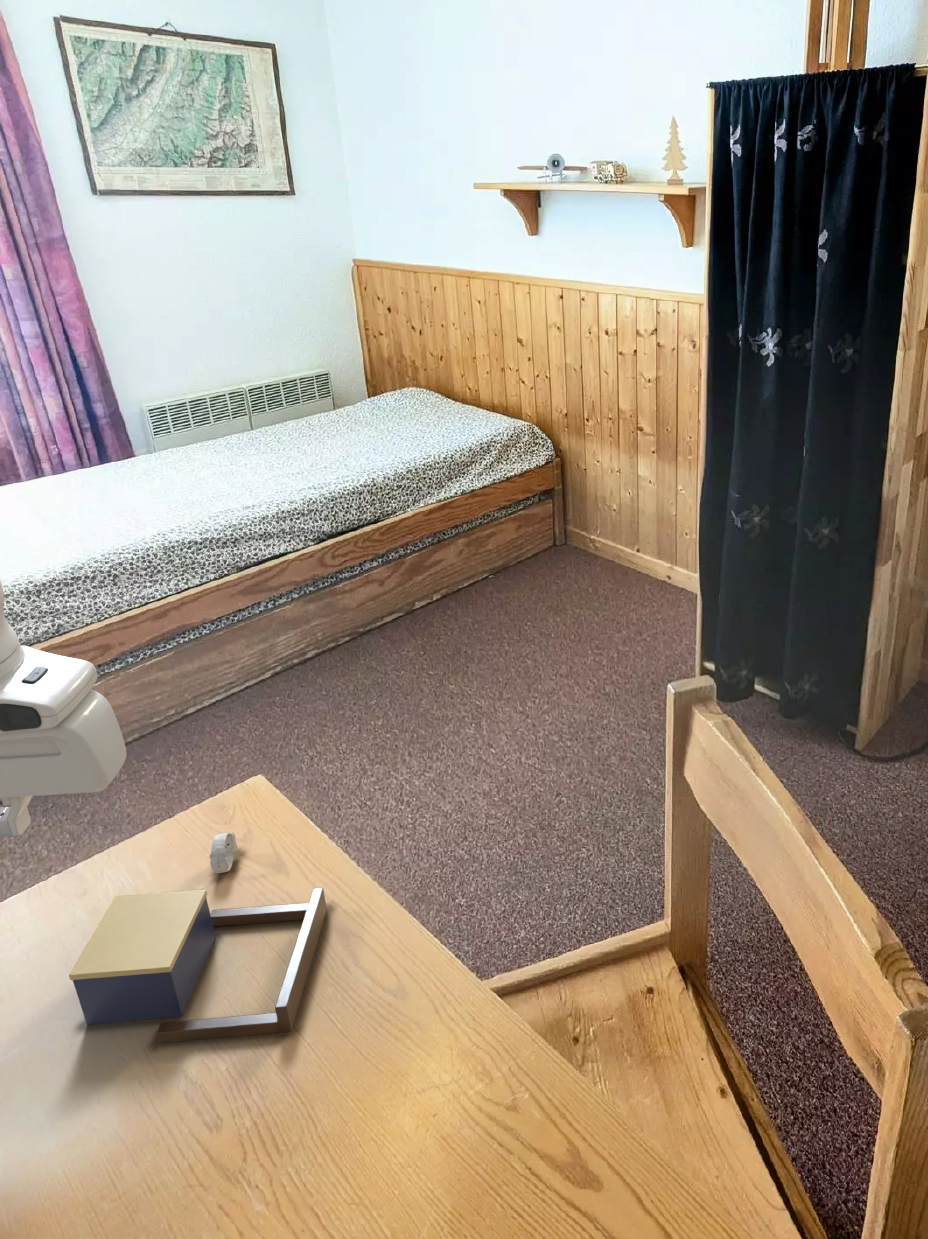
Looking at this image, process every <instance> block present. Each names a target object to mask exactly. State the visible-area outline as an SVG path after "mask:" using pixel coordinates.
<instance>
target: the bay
mask: <svg viewBox="0 0 928 1239" xmlns="http://www.w3.org/2000/svg"><path fill="white" fill-rule="evenodd" d="M327 911H328V908H327V902H326V895H325V889H324V887H315V888H314V887H313V889H312V891H311V895H310V898H309V899H308V902H299V903H285V904H274V905H273V904H271V905H262V906H261V905H259V906H258V905H257V906H244V907H233V908H217V909H211V911H210V916H211V920H212V924H213V927H223V926H224V927H225V926H235V925H236V926H237V925H249V924H250V925H251V924H262V923H263V924H264V923H275V922H276V923H277V922H289V921H301V920H302V922H301V925H300V929H299V932H298V935H297V938H296V941H295V944H294V946H293V950H292V953H291V957H290V960H289V962H288V966H287V969H286V972H285V974H284V978H283V982H282V984H281V987H280V990H279V994H278V997H277V1000H276V1003H275V1005H274V1011H275V1012H267V1013H255V1014H244V1015H234V1016H233V1015H232V1016H223V1017H222V1016H221V1017H211V1018H210V1017H209V1018H199V1019H187V1020H176V1021H175V1020H174V1021H163V1022H160V1025H159V1027H158V1029H157V1031H156V1035H157V1036H156V1037H157V1040H158V1043H159V1044H161V1043H171V1042H182V1041H183V1042H184V1041H193V1040H194V1041H195V1040H207V1039H216V1038H217V1039H219V1038H228V1037H239V1036H251V1035H263V1034H274V1033H284V1032H285V1033H287V1032H292V1029H293V1026H294V1023H295V1019H296V1016H297V1013H298V1010H299V1006H300V1003H301V999H302V996H303V992H304V989H305V987H306V982H307V979H308V976H309V972H310V969H311V965H312V962H313V958H314V955H315V953H316V948H317V945H318V942H319V938H320V935H321V932H322V928H323V924H324V921H325V918H326V915H327Z"/></svg>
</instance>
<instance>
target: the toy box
mask: <svg viewBox="0 0 928 1239" xmlns="http://www.w3.org/2000/svg"><path fill="white" fill-rule="evenodd" d="M207 896H208V892H207V889H205V888H204V889H194V890H193V889H192V890H180V891H165V892H153V893H138V894H137V893H136V894H125V895H115V897H114V898H113V899H112V901H111V903H110V905H109V907H108V908H107V910H106V912H105V913H104V915H103V916H102V918H101V920H100V922H99V923H98V925H97V927H96V929H95V930H94V932H93V934H92V935H91V937H90V939H89V941H88V942H87V944H86V945H85V947H84V949H83V951H82V952H81V954H80V955H79V957H78V959H77V960H76V962H75V964H74V966H73V967H72V969H71V971H70V973H69V974H68V977H69V980H70V981H72V982H73V986H74V989H75V992H76V994H77V995H76V996H77V998H78V1001H79V1005H80V1007H81V1011H82V1014H83V1017H84V1020H85V1023H86V1025H96V1024H107V1023H108V1024H109V1023H119V1022H121V1023H122V1022H131V1021H144V1020H154V1019H155V1020H156V1019H166V1018H167V1019H168V1018H178V1017H182V1016H183V1015H184V1013H185V1010H186V1008H187V1006H188V1003H189V1001H190V998H191V996H192V994H193V991H194V989H195V987H196V985H197V983H198V980H199V978H200V975H201V973H202V971H203V968H204V966H205V964H206V961H207V959H208V958H209V954H210V952H211V950H212V947H213V945H214V943H215V940H216V938H217V937H216V933H215V929H214V926H213V924H212V920H211V916H210V914H211V911H210V907H209V903H208V898H207Z"/></svg>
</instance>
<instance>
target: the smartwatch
mask: <svg viewBox="0 0 928 1239" xmlns="http://www.w3.org/2000/svg"><path fill="white" fill-rule="evenodd" d="M236 850H238V843H237V838H236V834H235V832H232V831H230V832H223V833H217V834H215V835H214V837H213V840H212V844H211V850H210V854H209V859H210V862H209V864H210V868H211V870H212V871H213V872H214V873H215V874H223V873H227V872H230V871H231V869H232V867H233V864H234V863H233V862H234V857H235V852H236Z"/></svg>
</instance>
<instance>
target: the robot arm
mask: <svg viewBox="0 0 928 1239" xmlns="http://www.w3.org/2000/svg"><path fill="white" fill-rule="evenodd" d="M4 602H5V592H4V587H3V583H2V581H1V579H0V799H1V800H0V801H1V802H2V803H1V804H2V805H3V806H0V838H1V837H14V836H15V837H16V836H22V835H23V834H24V833H25V832H26V831H27V829H28V828H29V827H30V826H31V821H32V818H31V815H30V812H29V809H28V806H29V805H30V802H31V800H32V799H33V797H38V796H53V795H54V796H55V795H67V794H83V793H97V792H102V791H104V790H105V789H106V788H107V787H108V786H109V785H110V784H111V783H112V781H113V780H114V779H115V778H116V776H117V775H118V774H119V773H120V770H121V769H122V768H123V766H124V764H125V762H126V760H127V755H128V754H127V746H126V743H125V740H124V736H123V733H122V729H121V727H120V724H119V722H118V718H117V716H116V714H115V711H114V709H113V707H112V705H111V703H110V702H109V700H108V698H106V697H105V696H104V695H103V694H102V693H100V692H98V691H96V690H94V689H92V688H93V686H94V685H95V683H96V682H97V680H98V672H97V669H96V666H95V665H94V663H92V662H91V661H88V660H85V659H81V658H75V657H69V656H65V655H60V654H56V653H51V652H48V651H43V650H40V649H37V648H33V647H31V646H28V645H23V644H21V642H20V640H19V636H18V634H17V633H16V631H15V629H14V628H13V627H12V626H11V624H10V623H9V622H8V620H7V618H6V616H5V611H4V610H5V609H4Z"/></svg>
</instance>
